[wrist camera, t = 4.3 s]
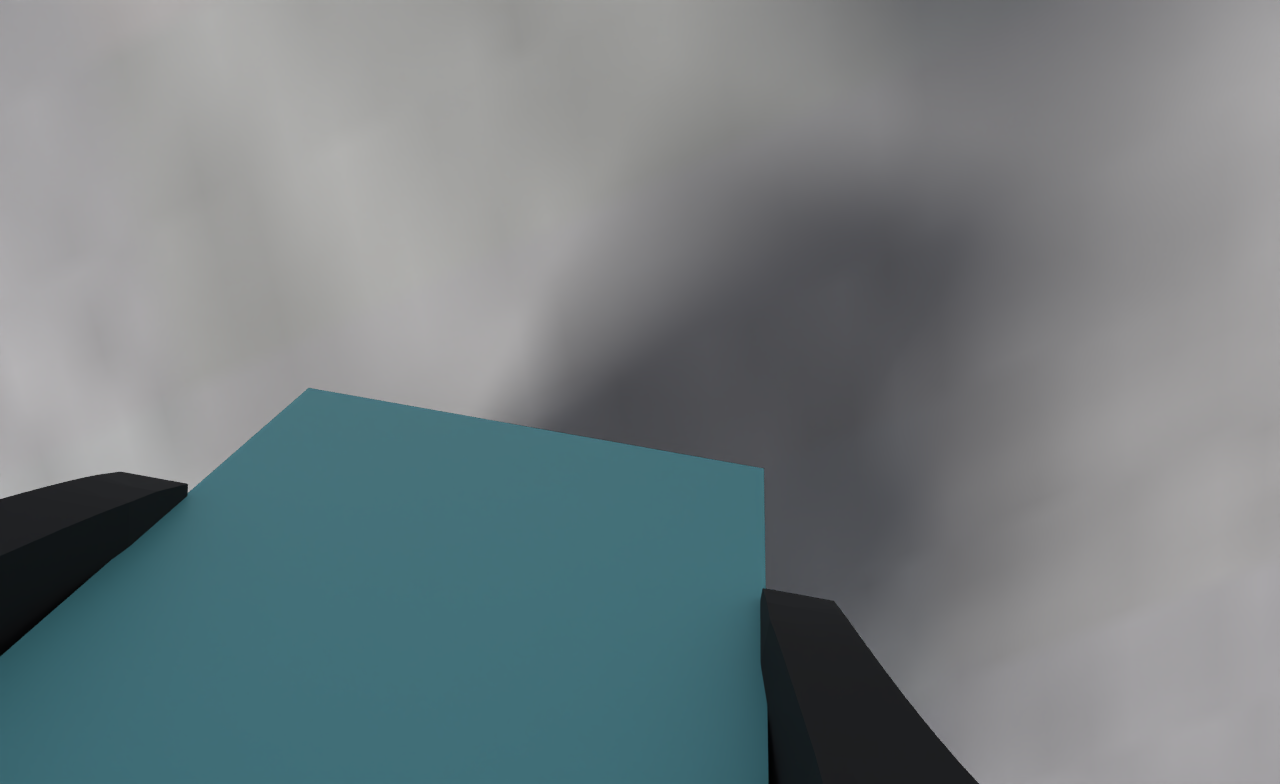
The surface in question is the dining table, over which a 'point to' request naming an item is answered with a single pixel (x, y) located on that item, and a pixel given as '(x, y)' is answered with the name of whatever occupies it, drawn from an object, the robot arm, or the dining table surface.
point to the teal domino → (412, 617)
